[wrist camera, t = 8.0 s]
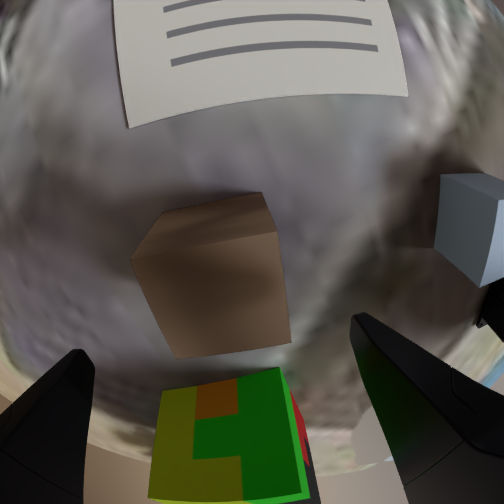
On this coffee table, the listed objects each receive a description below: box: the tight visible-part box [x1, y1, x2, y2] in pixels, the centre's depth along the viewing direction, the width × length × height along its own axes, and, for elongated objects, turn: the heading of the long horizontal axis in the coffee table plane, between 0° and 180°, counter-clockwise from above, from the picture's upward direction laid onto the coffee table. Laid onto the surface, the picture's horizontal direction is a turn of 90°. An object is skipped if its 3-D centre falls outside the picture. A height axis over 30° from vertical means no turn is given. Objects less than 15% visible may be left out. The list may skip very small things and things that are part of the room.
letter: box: [114, 0, 408, 129], centre depth 8 cm, size 14×10×1 cm
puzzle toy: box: [148, 367, 321, 504], centre depth 17 cm, size 10×10×10 cm
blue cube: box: [434, 173, 504, 288], centre depth 12 cm, size 5×5×5 cm
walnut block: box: [130, 192, 292, 359], centre depth 12 cm, size 5×5×5 cm
